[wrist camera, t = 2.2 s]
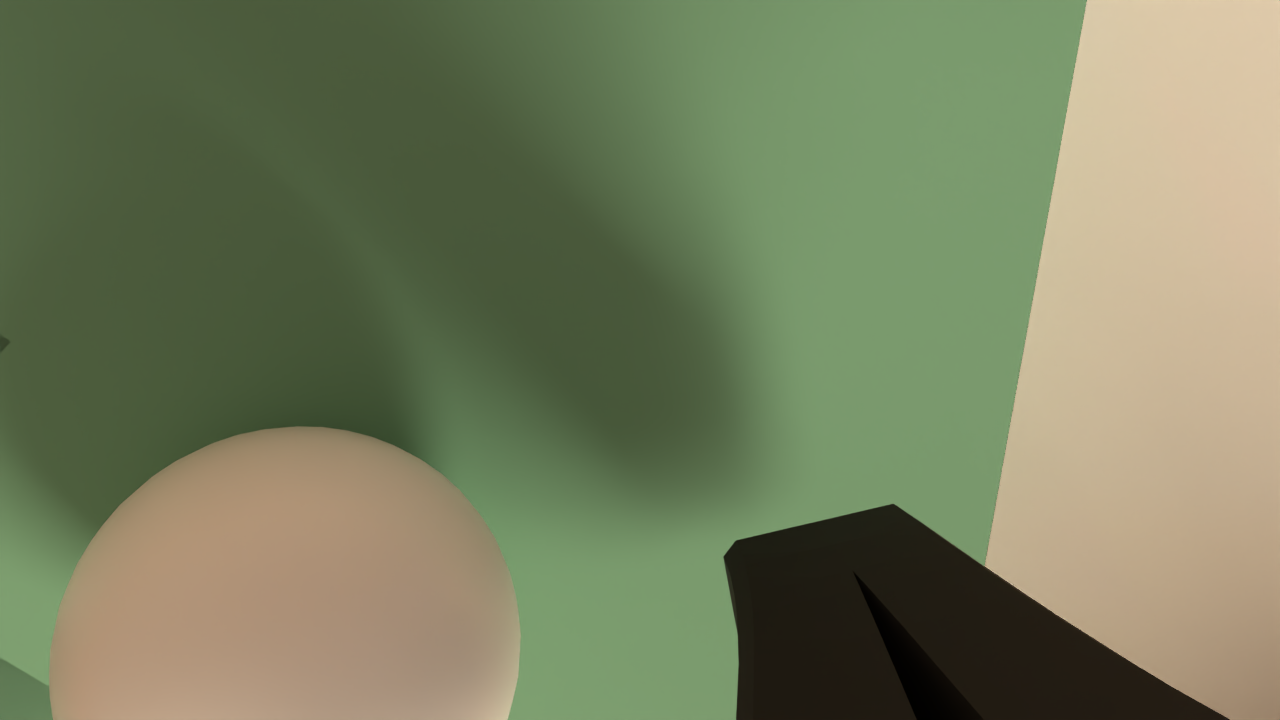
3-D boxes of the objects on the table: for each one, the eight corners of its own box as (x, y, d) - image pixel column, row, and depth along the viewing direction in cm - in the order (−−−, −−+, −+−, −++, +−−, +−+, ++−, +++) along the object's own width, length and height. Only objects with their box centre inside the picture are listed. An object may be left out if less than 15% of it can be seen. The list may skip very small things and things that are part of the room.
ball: (512, 351, 9) (526, 579, 6) (518, 668, 10) (532, 979, 8) (98, 360, 9) (-94, 610, 6) (156, 689, 10) (24, 1025, 7)
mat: (991, -94, 10) (1100, -83, 8) (867, 761, 14) (925, 894, 12) (-1285, -158, 8) (-1807, -163, 6) (-671, 872, 12) (-876, 1051, 10)
